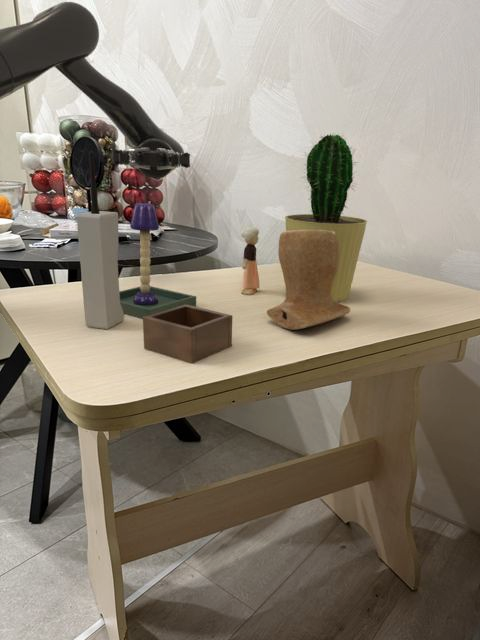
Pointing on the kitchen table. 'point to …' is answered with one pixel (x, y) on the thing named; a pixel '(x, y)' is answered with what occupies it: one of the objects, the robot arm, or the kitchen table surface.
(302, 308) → the brown flared block
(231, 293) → the kitchen table surface
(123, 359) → the kitchen table surface
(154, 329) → the brown wooden box
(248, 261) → the grandmother figurine
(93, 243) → the utensil holder
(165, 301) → the tray
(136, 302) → the toy lamp
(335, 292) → the potted cactus
